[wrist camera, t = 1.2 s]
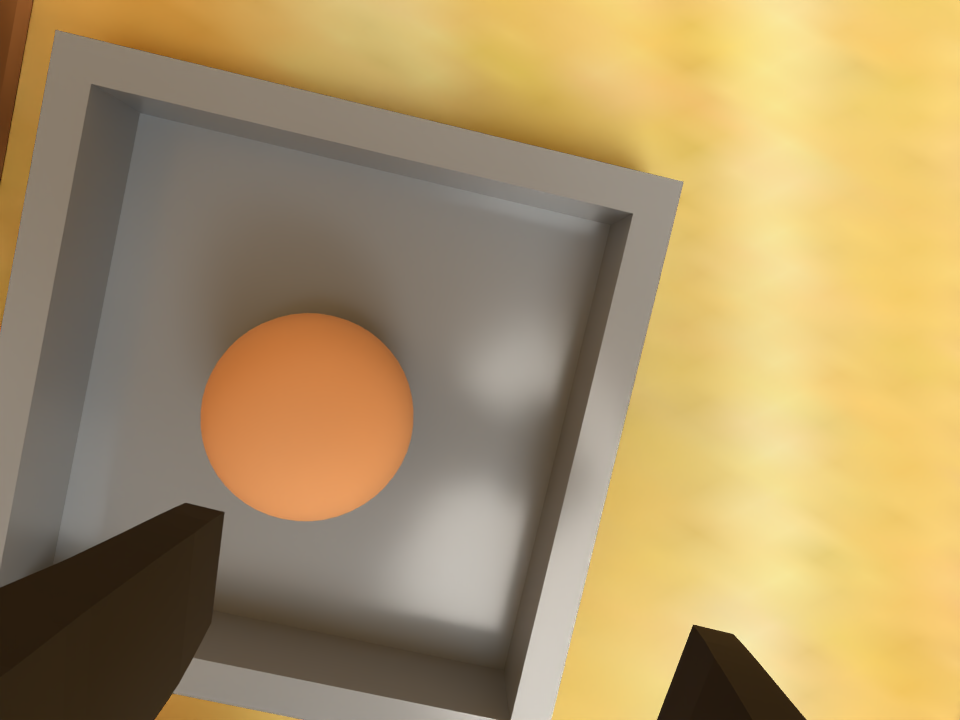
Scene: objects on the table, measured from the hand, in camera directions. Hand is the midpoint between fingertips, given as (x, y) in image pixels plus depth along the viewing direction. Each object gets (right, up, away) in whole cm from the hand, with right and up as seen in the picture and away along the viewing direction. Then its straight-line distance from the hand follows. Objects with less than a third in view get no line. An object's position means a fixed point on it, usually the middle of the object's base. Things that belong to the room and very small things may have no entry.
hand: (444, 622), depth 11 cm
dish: (-4, +3, +10) cm, 11 cm away
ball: (-4, +3, +7) cm, 8 cm away
